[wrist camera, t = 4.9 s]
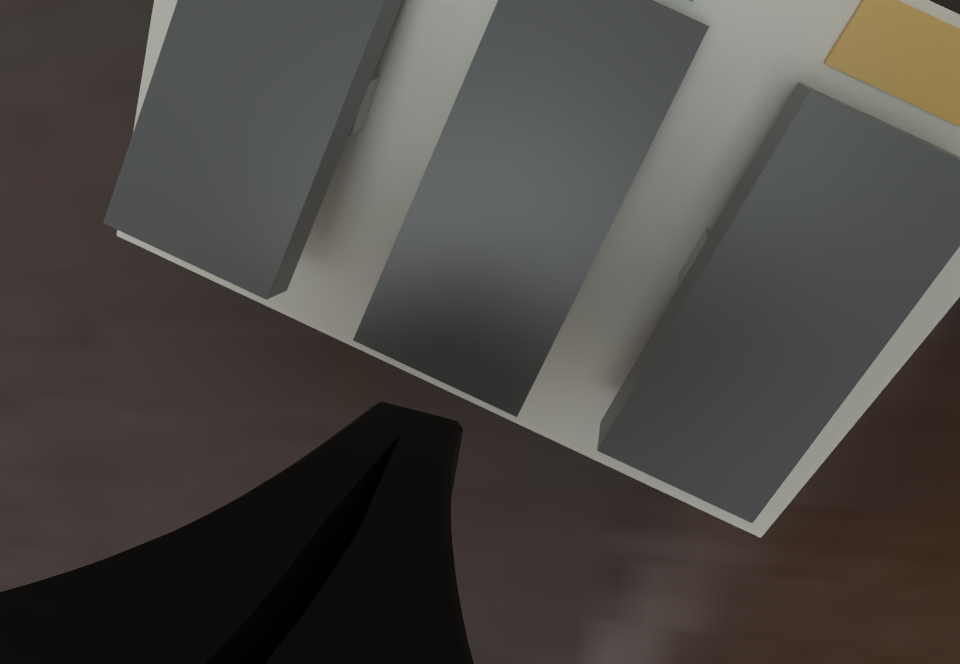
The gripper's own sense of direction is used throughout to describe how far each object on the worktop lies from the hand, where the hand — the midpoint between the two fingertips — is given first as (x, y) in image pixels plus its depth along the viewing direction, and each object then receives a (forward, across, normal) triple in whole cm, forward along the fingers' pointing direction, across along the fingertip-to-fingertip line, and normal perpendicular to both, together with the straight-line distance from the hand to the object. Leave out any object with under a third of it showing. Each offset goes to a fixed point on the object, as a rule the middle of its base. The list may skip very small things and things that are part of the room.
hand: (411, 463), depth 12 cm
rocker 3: (+6, -6, -1) cm, 8 cm away
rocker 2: (+6, 0, -3) cm, 7 cm away
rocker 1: (+6, +5, -4) cm, 9 cm away
